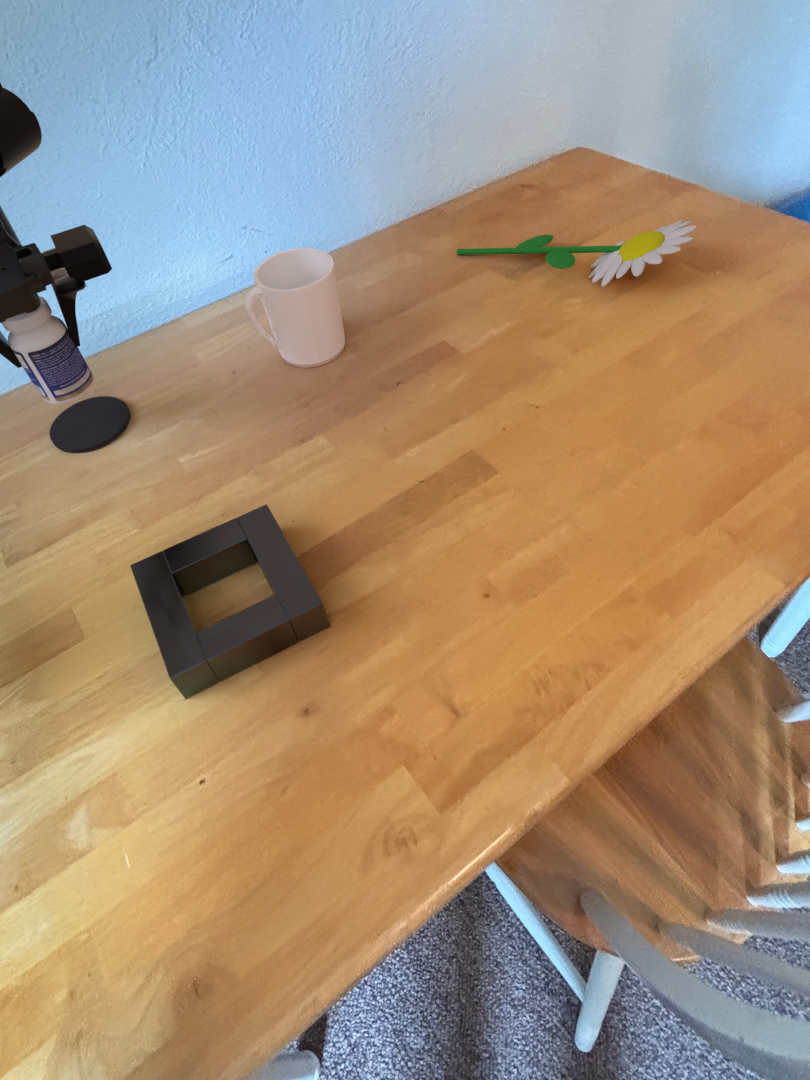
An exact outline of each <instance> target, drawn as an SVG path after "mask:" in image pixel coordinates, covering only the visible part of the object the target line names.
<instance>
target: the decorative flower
mask: <svg viewBox="0 0 810 1080" xmlns="http://www.w3.org/2000/svg"><path fill="white" fill-rule="evenodd" d="M692 222H693V221H692V220H687V221H684V219H680V220H678V221H675V222H673V223H671V224H666V225H663V226H661V227H657V229H655V230H647V231H643V232H640V233H637V234H636V235H633V236H632V237H630V238H629V239H627V240H621V241H619V242H617V243H616V244H613V245H579V246H577V245H575V246H546V245H548V244H550V243H552V241H553V239H554V235H553V234H541V235H536V236H534V237H530V238H528V239H526V240H524V241H522V242H520V243H519V244H517V246H516V247H483V248H482V247H480V248H479V247H477V248H457V249H456V255H457V256H474V255H475V256H478V255H480V256H481V255H483V256H484V255H485V256H486V255H535V254H537V255H538V254H539V255H540V254H542V255H543V254H546V255H545V261H546V264H548V265H550V266H551V267H552V268H556V269H559V270H565V269H569V268H572V267H573V266H575V263H576V257H575V255H574V254H591V253H592V254H594V253H595V254H599V253H601V255H599V256H598V258H596V259H595V260H594V261H593V263H591V265H590V266H589V268H590V269H591V270H592V269H593V270H592V271H591V272H590V273H589V275H588V279H591V278H592V279H591V283H592V284H594V283H597V282H598V281H600V280H601V279H602V280H601V283H600V285H601V287H602V288H604V287H606V286H608V284H610V282H611V281H612V280H613V278H614V277H615V279H621V278H622V277H623V276H624V275H625V274H627V272H628V271H629V270H630V269H631V273H632V275H633V276H634V277H639V276H641V275H642V273H643V272H644V270H645V267H646V264H649V265H659V264H662V262H663V256H666V255H673V254H675V253H678V252H680V251H681V250H682V247H680V246H679V245H683V244H686V243H688V242H691V241H692V240H693V239H694V237H692V236H691V235H688V234H690V233H691V232H693V231H695V229H696V228H697V227H698V226H697V225H690V224H691V223H692Z"/></svg>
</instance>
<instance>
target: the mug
mask: <svg viewBox="0 0 810 1080" xmlns="http://www.w3.org/2000/svg"><path fill="white" fill-rule="evenodd" d="M253 280H254V285H255V286H256V287H253V288H251V289H250V290H248V292H247V293H246V294H245V297H244V309H245V311H246V312H245V313H246V314H247V318H248V319H249V321H250V322H251V324H252V326H253V327H254V329H255V331H256V332H257V333H258V334H259V336H260V337H261V338H262V339H263V340H264V341H266V342H267V344H269V345H270V346H271V347H272V346H273V347H275V348H277V349H278V352H279V356H280V357H281V358H282V360H283V361H284V362H285V363H286V364H288V365H290V366H293V367H295V368H300V369H301V368H302V369H309V368H315V367H316V368H317V367H322V366H323V365H327V364H329V363H330V362H333V361H334V360H336V359H337V358H338V357H339V356H340V355H342V353H343V351H344V349H345V346H346V343H347V342H346V335H345V328H344V321H343V316H342V309H341V301H340V297H339V289H338V281H337V275H336V269H335V263H334V259H333V257H332V256H331V255H330V254H329V253H328V252H326V251H324V250H321V249H318V248H313V247H298V248H297V247H296V248H291V249H285V250H283V251H280V252H277V253H274V254H272V255H271V256H268V257H267V258H265V259H264V260H262V261H261V262H260V263H259V264H258V265H257V267H256V268H255V270H254V273H253ZM258 297H259V298H260V301H261V304H262V306H263V309H264V312H265V315H266V318H267V320H268V324H269V327H270V329H271V333H272V335H273V337H272V336H271V335H269V334H268V333H267V331H265V329H264V327H263V326H262V324H261V323H260V321H259V319H258V318H257V315H256V313H255V309H254V303H255V300H256V299H257V298H258Z"/></svg>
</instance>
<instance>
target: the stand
mask: <svg viewBox="0 0 810 1080" xmlns="http://www.w3.org/2000/svg"><path fill="white" fill-rule="evenodd" d="M256 564H257V565H258V566H259V568H260V570H261V572H262V574H263V576H264V578H265V580H266V582H267V584H268V586H269V588H270V590H271V592H272V593H273V595H271V596H269V597H267V598H265V599H263V600H260V601H259V602H256V603H254V604H252V605H250V606H248V607H246V608H244V609H241V610H240V611H238V612H236V613H233V614H231V615H229V616H227V617H225V618H223V619H221V620H219V621H217V622H215V623H213V624H210V625H209V626H206V627H204V628H202V629H199V626H198V624H197V621H196V619H195V616H194V614H193V611H192V609H191V606H190V603H189V602H188V599H187V596H189V595H192V594H193V593H196V592H198V591H201V590H202V589H204V588H206V587H209V586H211V585H213V584H215V583H217V582H219V581H221V580H223V579H225V578H226V579H227V578H228V577H230V576H233V575H234V574H236V573H238V572H241V571H243V570H245V569H247V568H249V567H251V566H254V565H256ZM129 567H130V570H131V573H132V575H133V578H134V581H135V583H136V586H137V589H138V592H139V595H140V598H141V600H142V603H143V606H144V609H145V612H146V615H147V618H148V620H149V623H150V626H151V629H152V632H153V635H154V638H155V640H156V643H157V646H158V649H159V652H160V654H161V658H162V661H163V663H164V666H165V669H166V672H167V675H168V677H169V679H170V681H171V682H172V684H173V685H174V686H175V687H176V689H177V690H178V691H179V694H180V695H181V696H182V697H183V698H184V699H185V700H187V699H189V698H191V697H194V696H195V695H198V694H200V693H202V692H203V691H205V690H207V689H209V688H211V687H213V686H215V685H217V684H219V683H222V682H223V681H225V680H227V679H229V678H232V677H233V676H235V675H238V674H240V673H241V672H243V671H246V670H248V669H249V668H251V667H253V666H255V665H257V664H259V663H261V662H264V661H266V660H267V659H269V658H271V657H273V656H275V655H277V654H279V653H281V652H283V651H285V650H287V649H289V648H291V647H294V646H295V645H297V644H299V643H301V642H303V641H305V640H306V639H309V638H310V637H313V636H314V635H316V634H319V633H321V632H323V631H324V630H326V629H328V628H330V627H332V625H331V623H330V620H329V616H328V613H327V611H326V607H325V605H324V602H323V601H322V599H321V597H320V595H319V594H318V592H317V590H316V588H315V586H314V585H313V583H312V582H311V580H310V578H309V576H308V575H307V573H306V571H305V569H304V567H303V566H302V564H301V562H300V560H299V558H298V557H297V555H296V553H295V552H294V549H293V547H292V546H291V545H290V543H289V541H288V539H287V538H286V535H285V534H284V532H283V530H282V529H281V527H280V525H279V523H278V522H277V520H276V518H275V516H274V514H273V512H272V510H271V509H270V507H269V506H268V504H264V505H261V506H259V507H257V508H255V509H252V510H250V511H248V512H245V513H243V514H241V515H238V516H236V517H234V518H232V519H230V520H228V521H225V522H223V523H220V524H219V525H216V526H215V527H212V528H210V529H208V530H205V531H203V532H201V533H198V534H196V535H194V536H192V537H190V538H187V539H184V540H183V541H181V542H178V543H176V544H174V545H172V546H170V547H167V548H165V549H163V550H161V551H158V552H157V553H154V554H152V555H150V556H148V557H147V556H146V558H143V559H141V560H139V561H137V562H133V563H132V564H130V565H129Z"/></svg>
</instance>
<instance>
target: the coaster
mask: <svg viewBox="0 0 810 1080" xmlns="http://www.w3.org/2000/svg"><path fill="white" fill-rule="evenodd" d="M131 416H132V415H131V411H130V409H129V407H128V404H126V402H124V400H122V399H120V398H118V397H116V396H115V397H114V396H106V395H104V396H103V395H100V396H93V397H90V398H85V399H83V400H81V401H78V402H76V403H74V404H72V405H70V406H69V407H67V408H66V409H64V410H63V411H62V412H61V413H59V414H58V415H57V417H55V419H54V420H53V422H52V424H51V425H50V428H49V438H50V441H51V442H52V444H53V445H54V447H56V448H57V449H58V450H60V451H62V452H65V453H69V454H81V453H83V454H84V453H89V452H93V451H95V450H98V449H101V448H103V447H105V446H107V445H109V444H111V443H112V442H114V441H115V440H117V439H118V438H119V437H120V436H122V434H123V433H124V432H125V431H126V430H127V428H128V426H129V424H130V422H131Z"/></svg>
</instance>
